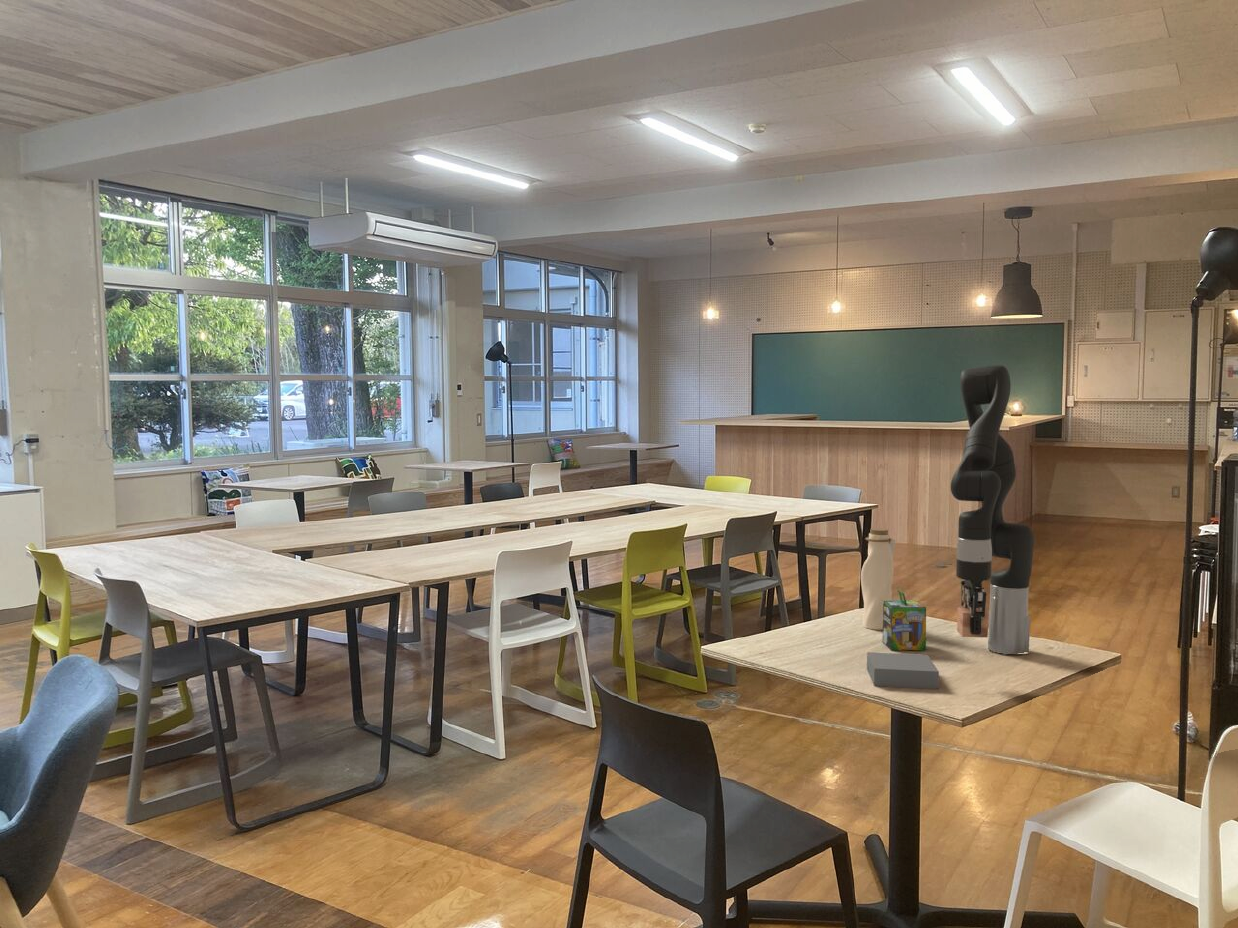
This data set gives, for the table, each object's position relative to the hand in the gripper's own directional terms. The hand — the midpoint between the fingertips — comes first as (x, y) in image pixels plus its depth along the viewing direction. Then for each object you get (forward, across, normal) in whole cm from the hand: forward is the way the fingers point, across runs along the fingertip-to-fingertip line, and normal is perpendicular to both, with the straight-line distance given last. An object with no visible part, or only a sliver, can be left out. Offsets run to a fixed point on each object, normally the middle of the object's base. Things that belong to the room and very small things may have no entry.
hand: (972, 630), depth 217 cm
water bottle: (+13, +52, +14) cm, 55 cm away
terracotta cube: (+1, 0, 0) cm, 1 cm away
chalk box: (+13, +30, +10) cm, 34 cm away
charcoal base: (+12, 0, +16) cm, 20 cm away
